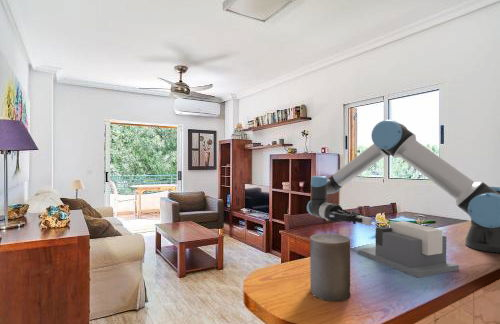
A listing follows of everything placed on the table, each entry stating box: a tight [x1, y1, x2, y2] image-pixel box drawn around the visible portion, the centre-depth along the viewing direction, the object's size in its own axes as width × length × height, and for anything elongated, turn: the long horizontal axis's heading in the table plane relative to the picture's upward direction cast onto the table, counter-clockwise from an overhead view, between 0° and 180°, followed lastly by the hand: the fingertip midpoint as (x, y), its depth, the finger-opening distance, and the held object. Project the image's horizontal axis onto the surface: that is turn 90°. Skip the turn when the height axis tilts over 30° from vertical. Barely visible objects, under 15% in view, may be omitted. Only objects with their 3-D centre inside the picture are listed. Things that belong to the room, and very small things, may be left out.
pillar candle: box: [309, 232, 351, 302], centre depth 75 cm, size 10×10×15 cm
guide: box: [357, 226, 460, 278], centre depth 100 cm, size 24×17×10 cm
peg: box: [389, 220, 443, 255], centre depth 96 cm, size 14×6×7 cm, turn 21°
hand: (370, 221), depth 114 cm, fingers closed
